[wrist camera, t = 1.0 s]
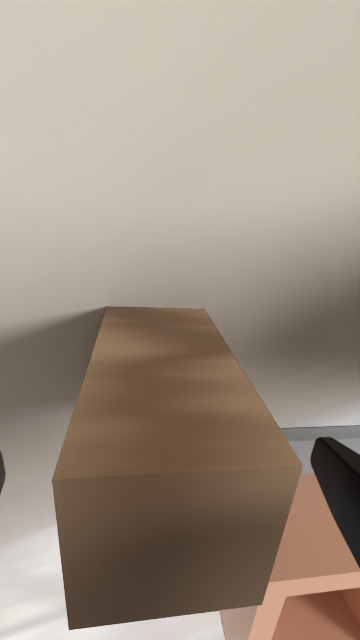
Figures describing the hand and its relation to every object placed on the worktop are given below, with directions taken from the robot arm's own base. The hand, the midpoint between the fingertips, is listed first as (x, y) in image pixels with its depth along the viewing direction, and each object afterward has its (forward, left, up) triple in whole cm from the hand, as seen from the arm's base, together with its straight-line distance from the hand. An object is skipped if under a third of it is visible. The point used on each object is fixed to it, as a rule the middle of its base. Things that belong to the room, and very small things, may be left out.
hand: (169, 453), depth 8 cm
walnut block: (0, 0, -6) cm, 6 cm away
